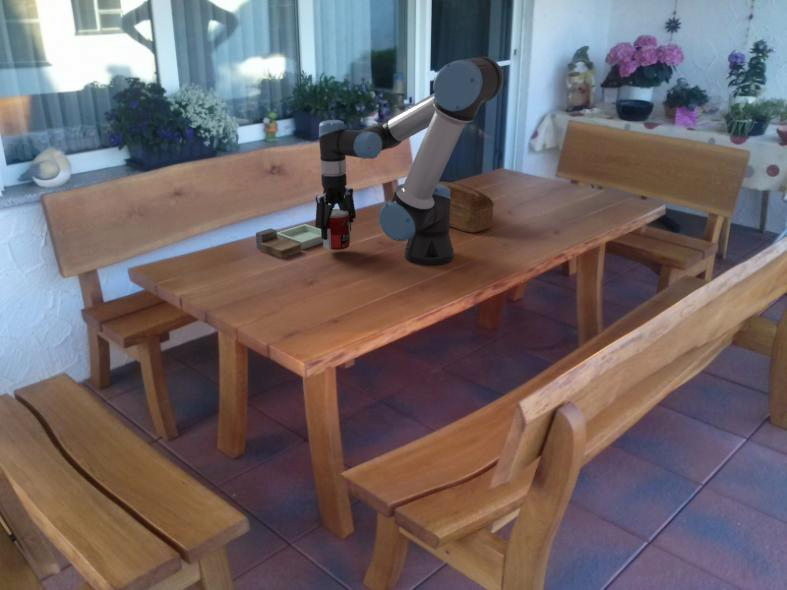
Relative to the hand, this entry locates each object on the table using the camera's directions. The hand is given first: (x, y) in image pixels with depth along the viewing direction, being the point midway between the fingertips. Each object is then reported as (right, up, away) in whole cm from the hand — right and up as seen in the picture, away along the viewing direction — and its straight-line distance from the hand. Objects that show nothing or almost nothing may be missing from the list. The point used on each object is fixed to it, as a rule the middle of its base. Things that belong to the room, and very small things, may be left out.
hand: (337, 245), depth 234 cm
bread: (+38, +10, +30) cm, 50 cm away
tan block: (-18, -2, +2) cm, 18 cm away
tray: (-12, +2, +12) cm, 17 cm away
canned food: (0, 0, 0) cm, 0 cm away
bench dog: (-23, 0, +6) cm, 24 cm away
